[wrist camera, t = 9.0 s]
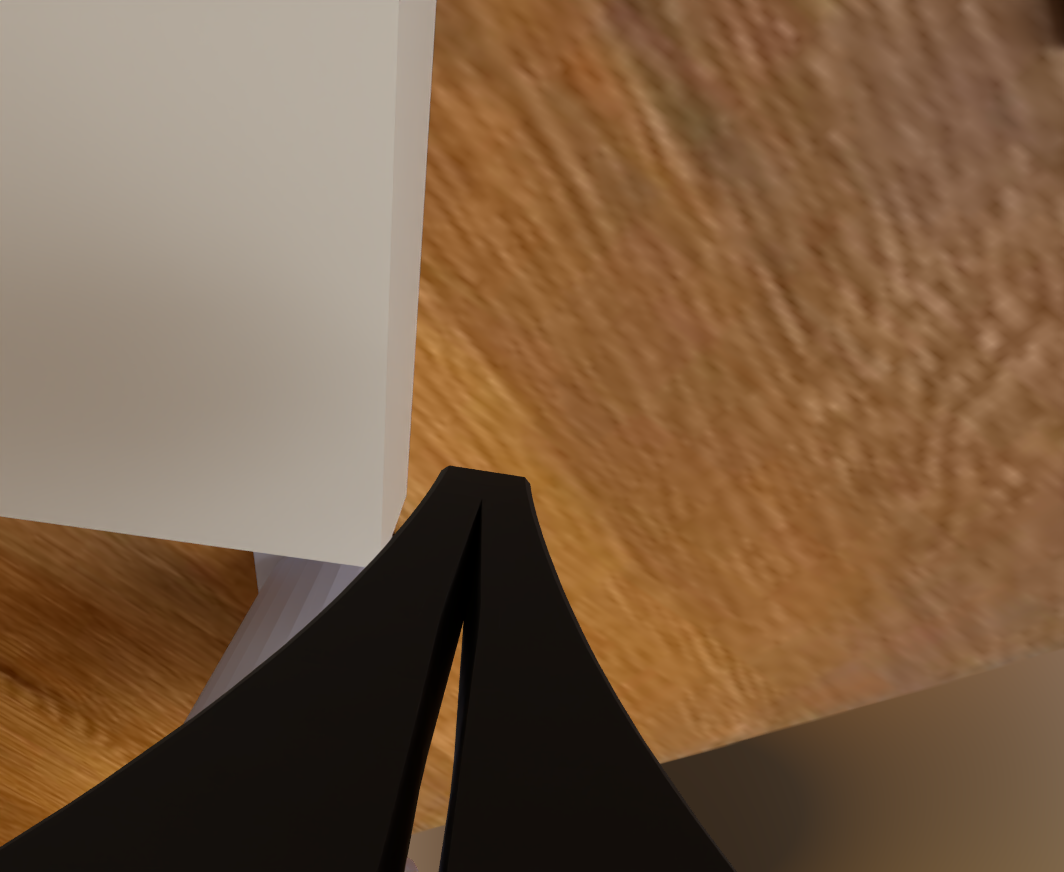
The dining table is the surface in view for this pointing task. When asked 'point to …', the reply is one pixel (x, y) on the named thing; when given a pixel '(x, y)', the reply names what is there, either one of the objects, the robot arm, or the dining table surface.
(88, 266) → the deck
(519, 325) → the dining table surface
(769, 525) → the dining table surface
